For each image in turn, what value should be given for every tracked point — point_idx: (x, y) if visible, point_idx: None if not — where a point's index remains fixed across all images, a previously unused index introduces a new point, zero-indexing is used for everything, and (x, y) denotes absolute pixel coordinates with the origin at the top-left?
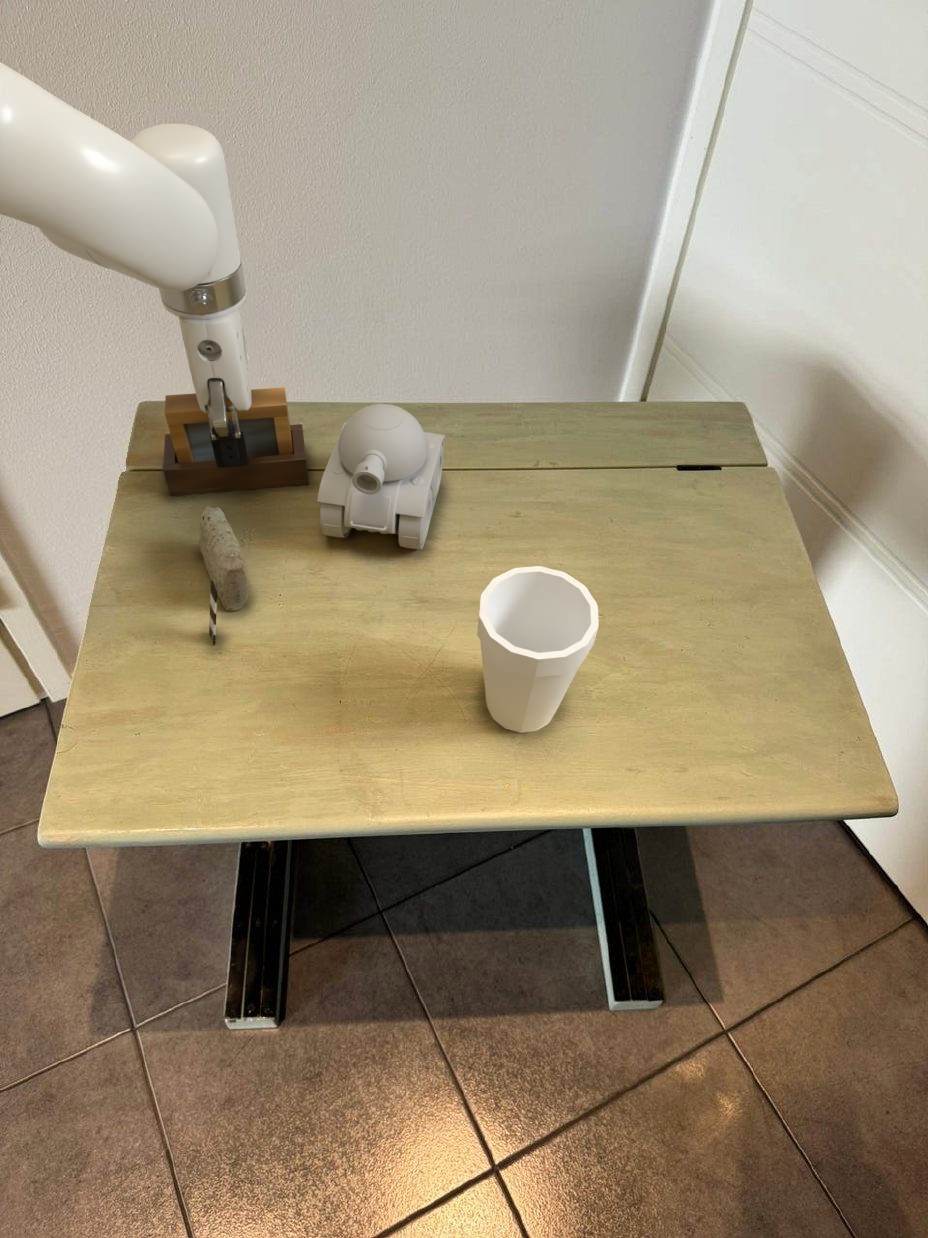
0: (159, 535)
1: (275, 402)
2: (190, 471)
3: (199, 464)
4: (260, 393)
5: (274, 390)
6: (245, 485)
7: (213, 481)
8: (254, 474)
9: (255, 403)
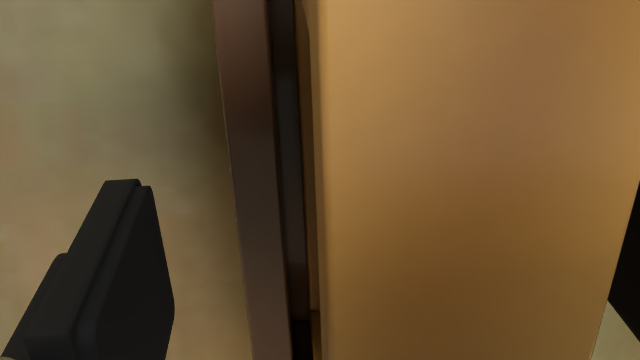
0: (607, 331)
1: (636, 24)
2: None
3: None
4: (419, 192)
5: (377, 36)
6: None
7: None
8: None
9: (571, 230)
